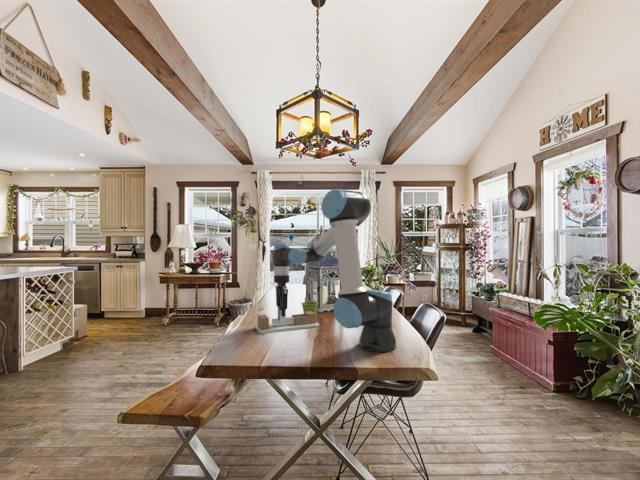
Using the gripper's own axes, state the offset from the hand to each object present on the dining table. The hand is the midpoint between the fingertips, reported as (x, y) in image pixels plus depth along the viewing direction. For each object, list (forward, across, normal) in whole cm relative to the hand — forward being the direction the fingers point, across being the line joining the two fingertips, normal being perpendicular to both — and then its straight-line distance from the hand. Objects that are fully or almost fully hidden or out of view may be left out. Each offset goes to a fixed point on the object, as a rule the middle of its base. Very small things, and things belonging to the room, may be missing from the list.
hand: (281, 321), depth 169 cm
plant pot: (+3, +12, -20) cm, 24 cm away
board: (+3, 0, -3) cm, 4 cm away
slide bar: (+2, 0, -4) cm, 4 cm away
